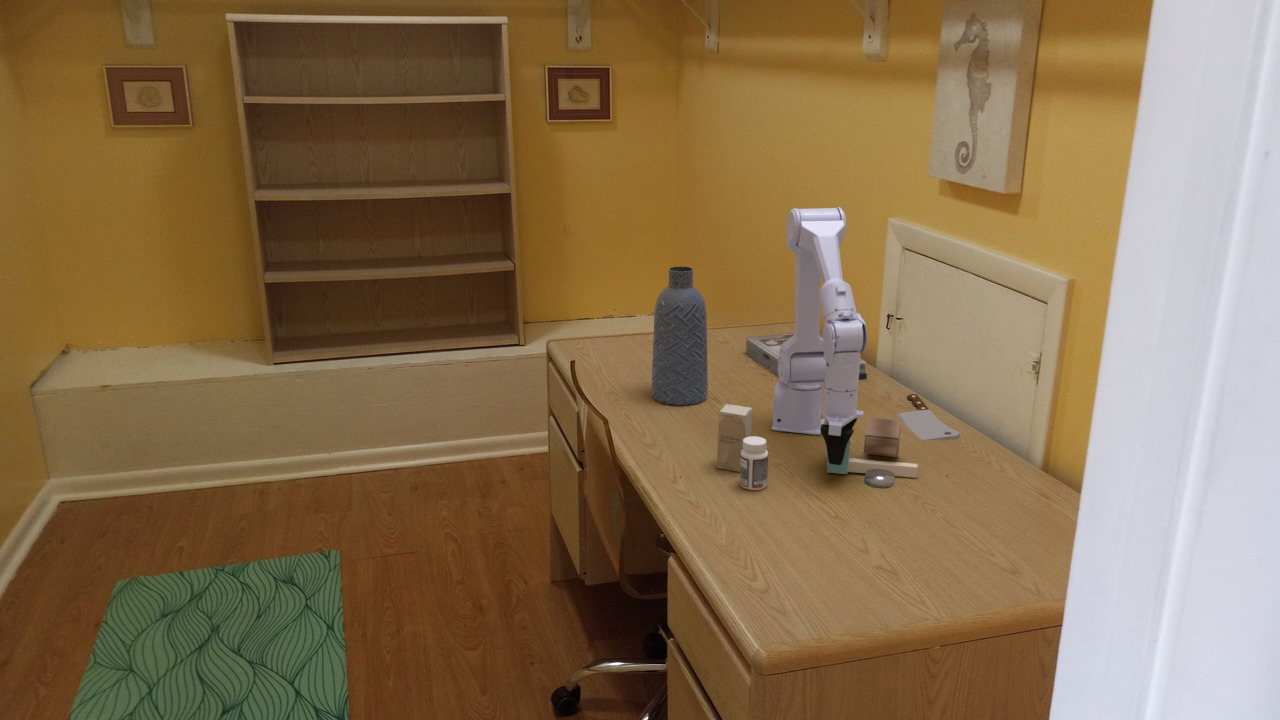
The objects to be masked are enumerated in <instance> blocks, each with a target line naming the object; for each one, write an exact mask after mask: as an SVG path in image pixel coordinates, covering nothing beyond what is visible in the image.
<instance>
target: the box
mask: <svg viewBox="0 0 1280 720" xmlns="http://www.w3.org/2000/svg"><path fill="white" fill-rule="evenodd" d="M752 415H753V407H749V406H742V405H737V404H736V405H735V404H729V403H727V404H726V403H725V404H724V405H723V407H722V408H721V409H720V411H719V419H718V420H719V421H718V435H717V436H718V437H717V439H718V440H717V455H716V456H717V457H716V468H717V469H721V470H727V471H734V472H737V473H738V472H740V460H741V451H742V449H743V439H744V438H746V437H750V436H751V435H752V434H751V433H752V420H753V417H752Z"/></svg>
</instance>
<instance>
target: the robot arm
mask: <svg viewBox="0 0 1280 720" xmlns="http://www.w3.org/2000/svg"><path fill="white" fill-rule="evenodd" d="M846 231H847V217H846V213H845V212H844V210H843V209H842V207H839V206H836V207H833V208H832V207H827V208H823V207H821V208H796V207H794V208H792V209H791V210H790V211H789V212H788V215H787V218H786V236H785V237H786V239H785V240H786V249H787V250H789V251H792V252H794V257H795V282H794V283H795V285H794V286H795V287H794V288H795V289H794V290H795V291H794V292H795V293H794V296H795V297H794V333H795V334H794V335H793V336H792V337H791V338H789V339H788V340H787V341H785V342H784V343H783V344H782V345H781V347H780V355H779V359H778V375H779V377H778V379H779V380H780V381H777V382H776V383H775V387H774V392H773V401H772V403H773V407H772V426H771V430H772V431H777V432H786V433H795V434H796V433H797V434H806V435H814V436H820V435H822V437H823V440H824V443H825V446H826V453H827V459H828V460H829V464H834V465H841V464H842V461H843V458H844V454H845V449H846V445H847V443H848V441H849V439H850V440H851V438H852V436H853V434H854V432H855V429H853V428H854V425H855V424H856V422H857V421H858V419H862V418H864V411H863V410H858V393H859V381H860V380H859V368H860V358H861V353H864V352H865V350H866V349H867V345H868V329H867V324H866V322H865V320H864V319H863V317H862V315H861V313H858V312H857V309H856V307H857V306H856V303H855V299H854V294H853V291H852V286H851V285H850V283H848V282H846V281H844V278H843V277H844V276H843V269H842V258H841V252H840V251H841V250H840V246H842V243H843V240H844V237H845V235H846ZM821 282H822V286H821ZM821 312H822V317H823V318H822V319H823V322H824V326H823V329H822V330H823V331H822V337H823V339H822V338H821V337H819V335H820V321H821V320H820V319H821V318H820V315H821V314H820V313H821ZM812 351H816V352H812ZM823 391H824V392H823ZM822 405H823V406H822ZM822 407H823V408H822ZM822 416H823V418H822ZM825 422H826V424H825Z"/></svg>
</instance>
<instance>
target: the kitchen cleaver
mask: <svg viewBox="0 0 1280 720" xmlns="http://www.w3.org/2000/svg"><path fill="white" fill-rule="evenodd" d="M907 399H908V400H909V401H908V400H907ZM906 400H907V401H908V402H910V401H912V402H911V403H912V406H913V405H914V406H913V407H914V408H915V407H916V408H915V409H916V410H912V411H906V412H900V413H895V415H896V416H897V418H898V420H899V421H901V423H903V424H904V426H906V427H907V428H908V429H909V430H910V431H911V432H912V433H913V434H914V435H915V436H916V437H918V438H919V439H920V440H921V441H931V440H933V441H935V439H940V440H957V439H956V438H958V439H959V438H960V436H961V435H960V434H961V433H960V431H957V430H955V429H953V428H951V427H950V426H948V425H947V424H945V423H944V422H942V421H941V420H940V419H939V418H938V417H937V416H936V415H935V414H934V413H933V411H931V410H930V408H929V407H928V406H927V405H926V403H925V402H924V401H923V400H922V399H921V397H920V396H919V395H918V394H915V393H911V394H908V395H907V396H906ZM947 434H948V435H947Z"/></svg>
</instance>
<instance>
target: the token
mask: <svg viewBox="0 0 1280 720" xmlns="http://www.w3.org/2000/svg"><path fill="white" fill-rule="evenodd" d="M864 474H865V475H864V482H865V484H867V486H870V487H873V488H877V489H887V488H892V487H893V486H894V485H895V479H896V478H895V477H896V476H895V475H894V474H893V473H892V472H890V471H887V470H883V469H871V470H868V471H866V473H864Z"/></svg>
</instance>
